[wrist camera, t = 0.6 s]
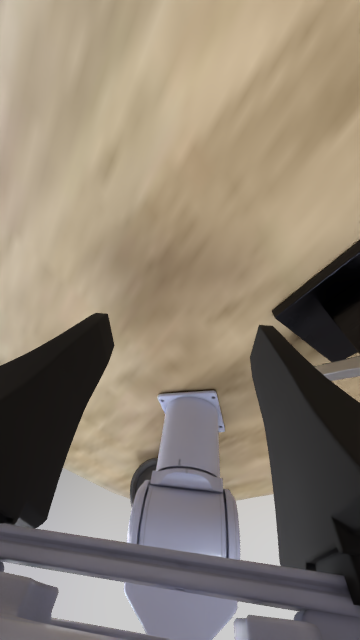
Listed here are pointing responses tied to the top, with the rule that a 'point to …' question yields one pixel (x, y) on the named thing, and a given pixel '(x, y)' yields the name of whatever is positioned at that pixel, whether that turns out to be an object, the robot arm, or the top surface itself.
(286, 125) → the top surface
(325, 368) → the tap lever
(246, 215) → the top surface
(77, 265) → the top surface
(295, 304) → the tap bracket
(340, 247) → the top surface
